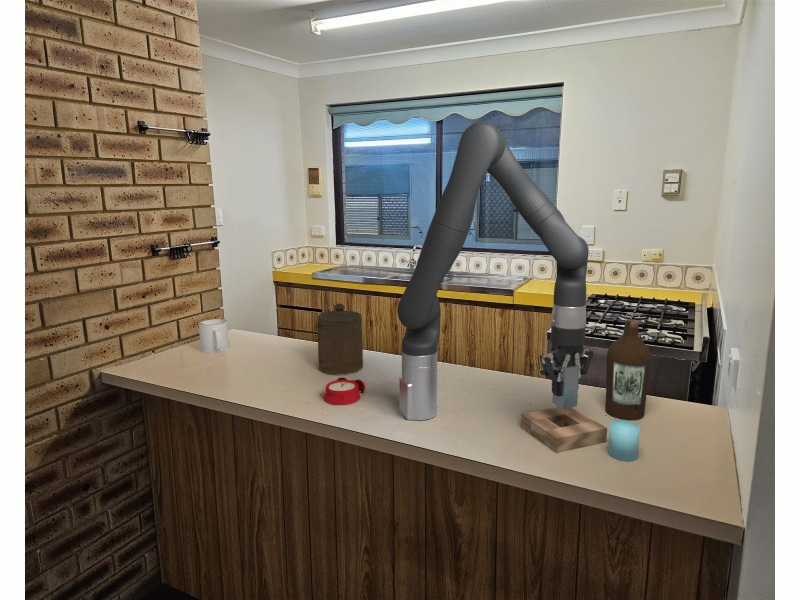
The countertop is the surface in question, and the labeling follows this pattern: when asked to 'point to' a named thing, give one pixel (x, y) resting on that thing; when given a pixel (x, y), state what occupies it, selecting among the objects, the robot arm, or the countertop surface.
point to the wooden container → (340, 341)
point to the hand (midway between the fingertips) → (565, 393)
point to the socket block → (563, 428)
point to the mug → (213, 335)
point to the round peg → (623, 440)
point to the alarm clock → (343, 391)
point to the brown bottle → (627, 374)
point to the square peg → (568, 388)
